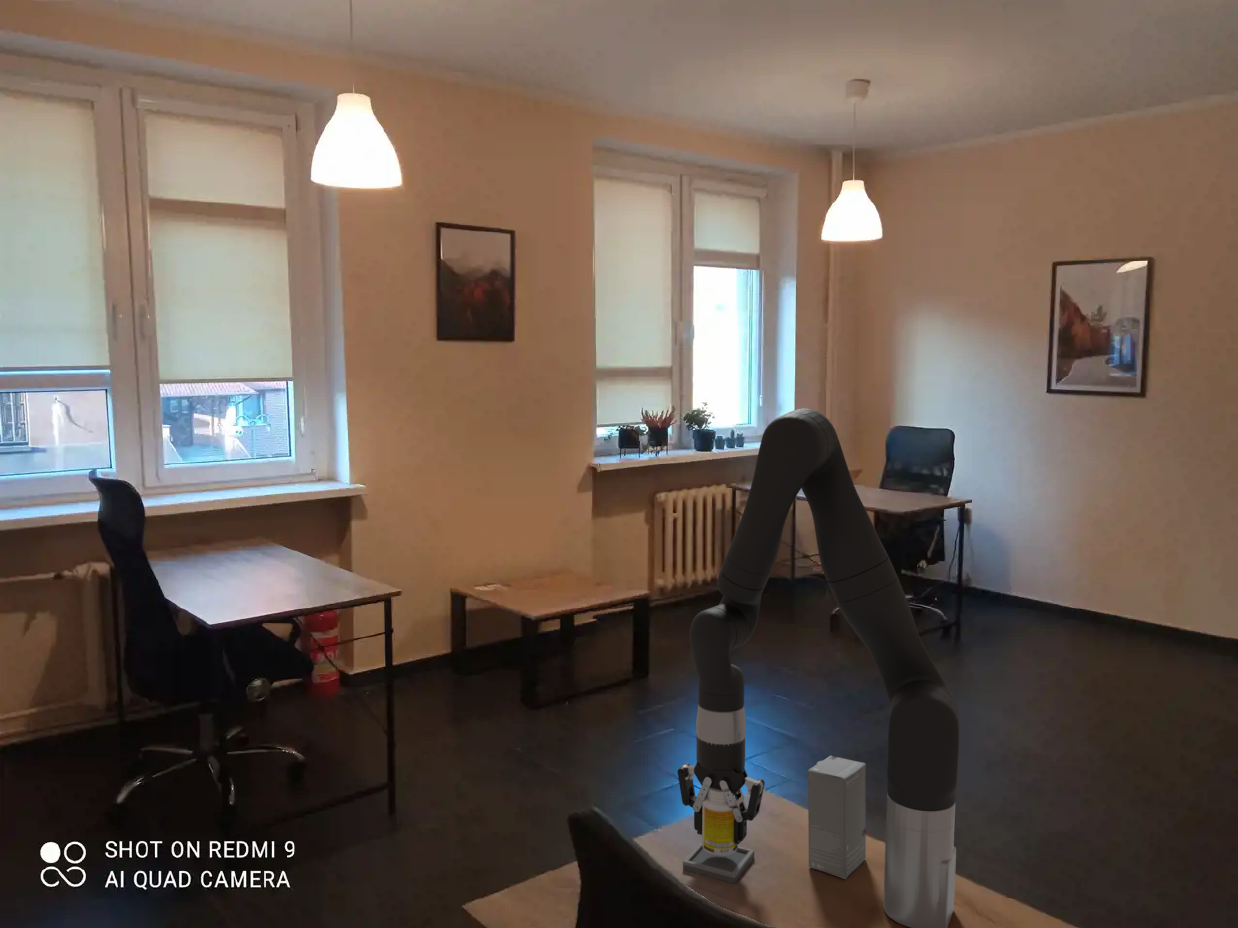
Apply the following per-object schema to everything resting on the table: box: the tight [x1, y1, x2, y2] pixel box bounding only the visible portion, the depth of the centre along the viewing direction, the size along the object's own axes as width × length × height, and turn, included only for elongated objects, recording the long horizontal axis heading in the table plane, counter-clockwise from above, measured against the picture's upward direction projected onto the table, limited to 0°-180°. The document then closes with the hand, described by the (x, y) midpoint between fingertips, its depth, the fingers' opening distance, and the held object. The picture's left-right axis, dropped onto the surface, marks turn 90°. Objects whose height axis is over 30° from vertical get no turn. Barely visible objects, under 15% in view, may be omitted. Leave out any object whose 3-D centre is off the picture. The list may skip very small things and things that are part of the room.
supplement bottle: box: [701, 788, 739, 857], centre depth 151 cm, size 6×6×10 cm
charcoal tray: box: [682, 840, 755, 884], centre depth 152 cm, size 8×8×1 cm
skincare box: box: [807, 755, 867, 880], centre depth 151 cm, size 8×7×16 cm
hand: (719, 836), depth 151 cm, fingers closed on supplement bottle, 5 cm apart
